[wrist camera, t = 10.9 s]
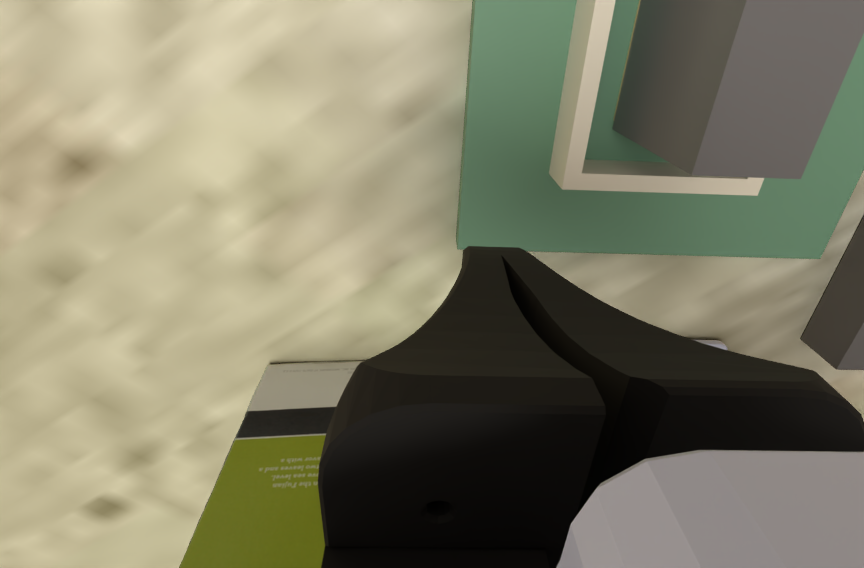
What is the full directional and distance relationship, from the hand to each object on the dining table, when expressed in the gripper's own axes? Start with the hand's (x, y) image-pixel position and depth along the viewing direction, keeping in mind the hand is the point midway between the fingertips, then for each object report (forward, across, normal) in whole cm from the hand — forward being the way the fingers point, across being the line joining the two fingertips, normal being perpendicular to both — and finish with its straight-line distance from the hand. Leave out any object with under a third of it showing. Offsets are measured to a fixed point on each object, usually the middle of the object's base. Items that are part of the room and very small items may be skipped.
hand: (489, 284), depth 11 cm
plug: (+8, -7, -5) cm, 12 cm away
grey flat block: (+9, -22, +3) cm, 24 cm away
